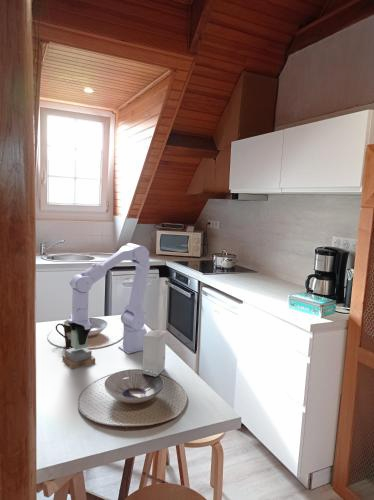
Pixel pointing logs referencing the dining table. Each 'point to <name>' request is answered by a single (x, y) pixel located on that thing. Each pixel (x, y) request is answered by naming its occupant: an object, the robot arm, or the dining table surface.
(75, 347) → the green column
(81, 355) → the grey square slab
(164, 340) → the skincare box
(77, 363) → the tan square slab
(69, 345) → the coffee mug
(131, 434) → the dining table surface
